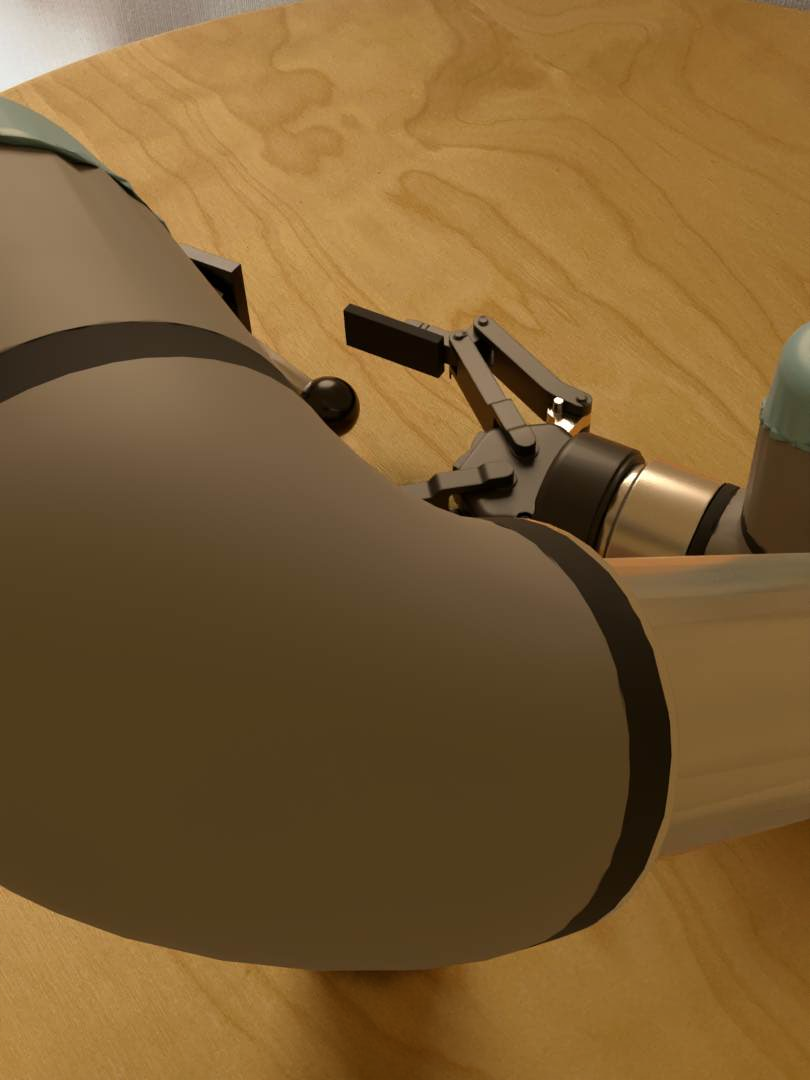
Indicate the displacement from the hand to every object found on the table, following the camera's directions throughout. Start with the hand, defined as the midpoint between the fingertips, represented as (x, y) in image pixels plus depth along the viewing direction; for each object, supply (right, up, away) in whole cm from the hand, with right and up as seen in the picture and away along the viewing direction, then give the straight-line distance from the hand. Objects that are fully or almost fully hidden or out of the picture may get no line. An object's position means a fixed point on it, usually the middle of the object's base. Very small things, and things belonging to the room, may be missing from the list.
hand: (284, 390), depth 77 cm
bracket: (-5, -2, +7) cm, 9 cm away
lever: (-2, +1, 0) cm, 2 cm away
